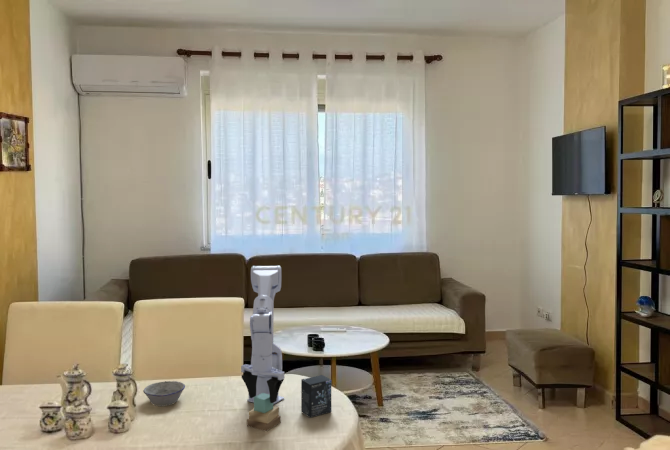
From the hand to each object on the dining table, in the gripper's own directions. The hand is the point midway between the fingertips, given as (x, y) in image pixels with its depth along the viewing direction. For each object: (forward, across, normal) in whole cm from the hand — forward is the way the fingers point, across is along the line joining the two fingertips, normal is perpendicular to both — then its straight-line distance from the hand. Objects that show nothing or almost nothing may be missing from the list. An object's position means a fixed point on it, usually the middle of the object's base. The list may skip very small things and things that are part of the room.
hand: (262, 399), depth 169 cm
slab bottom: (+8, 0, 0) cm, 8 cm away
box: (+8, +9, +15) cm, 19 cm away
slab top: (+6, 0, 0) cm, 6 cm away
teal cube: (+3, 0, 0) cm, 3 cm away
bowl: (+8, -39, -2) cm, 40 cm away
